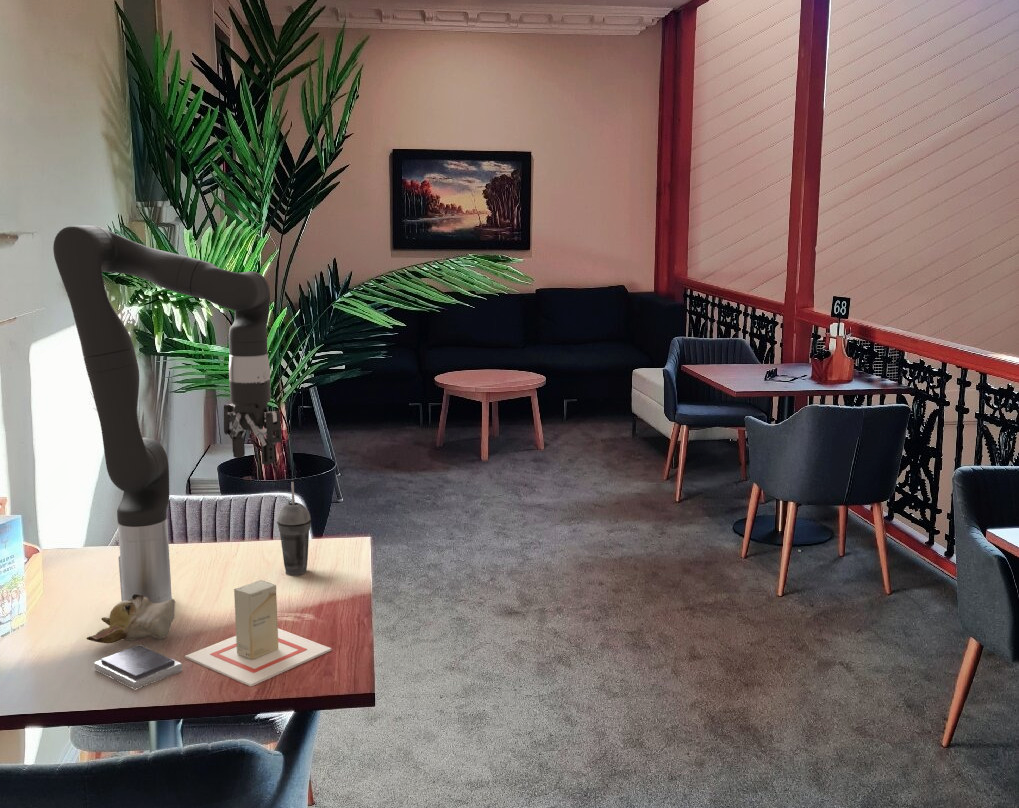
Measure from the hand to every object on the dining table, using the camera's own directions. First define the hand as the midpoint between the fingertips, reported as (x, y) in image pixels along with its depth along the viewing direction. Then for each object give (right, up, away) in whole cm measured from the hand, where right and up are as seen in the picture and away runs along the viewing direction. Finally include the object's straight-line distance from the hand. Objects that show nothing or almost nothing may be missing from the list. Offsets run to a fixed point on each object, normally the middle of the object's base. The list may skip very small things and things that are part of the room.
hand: (253, 460), depth 198 cm
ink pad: (-14, -35, -22) cm, 44 cm away
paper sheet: (+5, -34, -15) cm, 37 cm away
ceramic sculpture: (-20, -33, -8) cm, 39 cm away
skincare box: (+5, -33, -15) cm, 37 cm away
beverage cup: (+3, -26, +26) cm, 37 cm away
